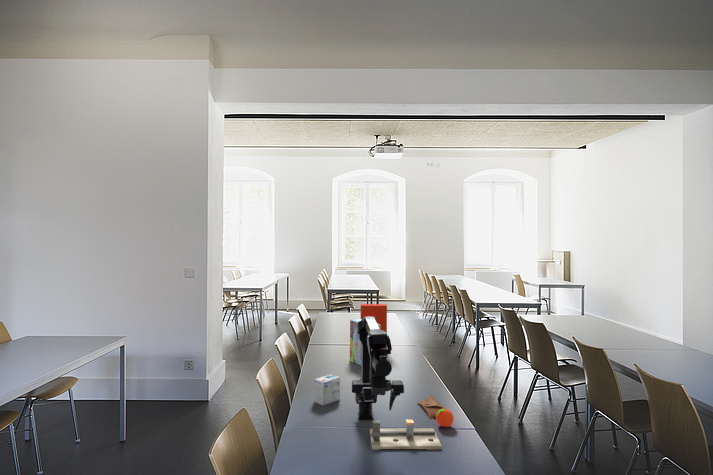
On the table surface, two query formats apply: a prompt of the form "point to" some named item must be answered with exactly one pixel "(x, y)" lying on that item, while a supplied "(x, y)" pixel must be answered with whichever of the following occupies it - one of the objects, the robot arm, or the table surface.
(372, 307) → the file binder
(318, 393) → the light bulb box
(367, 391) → the robot arm
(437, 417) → the clementine
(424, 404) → the sunglasses case
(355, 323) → the snack box
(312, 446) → the table surface
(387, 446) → the board
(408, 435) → the slider
